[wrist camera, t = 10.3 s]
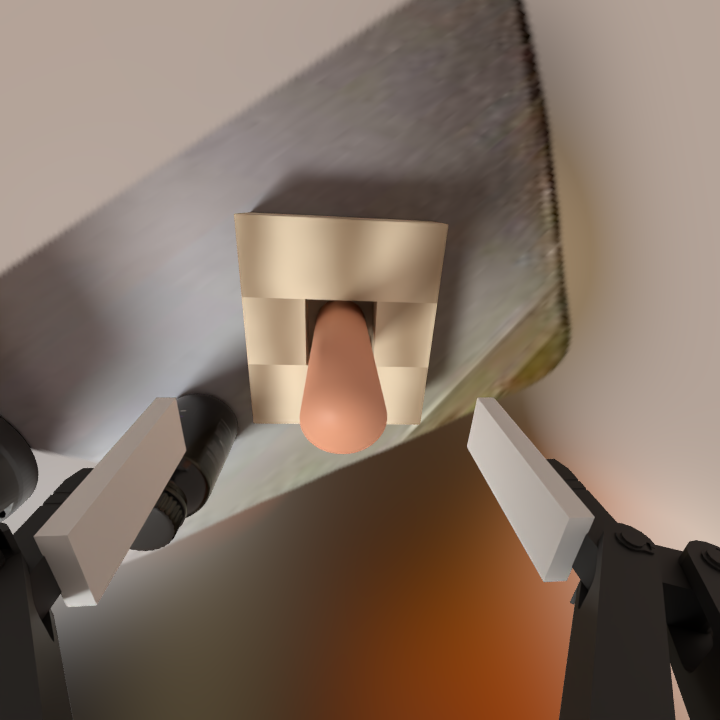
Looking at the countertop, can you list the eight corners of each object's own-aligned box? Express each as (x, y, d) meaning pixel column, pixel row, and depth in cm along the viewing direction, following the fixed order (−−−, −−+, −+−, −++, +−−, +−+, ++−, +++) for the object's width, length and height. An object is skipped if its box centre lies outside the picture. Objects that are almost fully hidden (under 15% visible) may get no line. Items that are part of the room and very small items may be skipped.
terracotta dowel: (316, 344, 29) (300, 454, 17) (316, 297, 28) (298, 379, 15) (363, 345, 30) (383, 453, 17) (366, 299, 28) (390, 381, 15)
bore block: (263, 395, 33) (253, 423, 29) (250, 212, 26) (234, 214, 22) (410, 397, 34) (420, 424, 30) (431, 221, 27) (448, 224, 23)
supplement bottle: (176, 380, 32) (91, 473, 21) (249, 406, 33) (205, 506, 22) (158, 436, 34) (73, 547, 23) (226, 458, 36) (177, 572, 25)
